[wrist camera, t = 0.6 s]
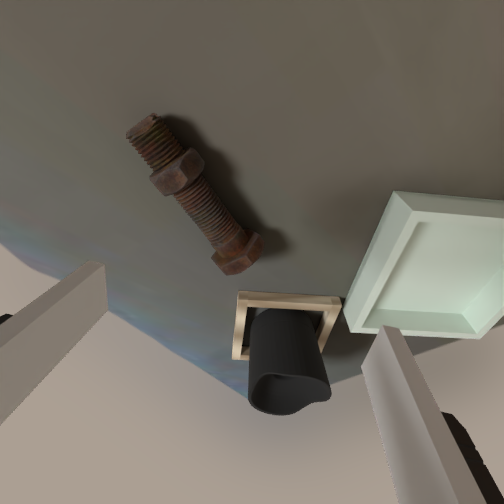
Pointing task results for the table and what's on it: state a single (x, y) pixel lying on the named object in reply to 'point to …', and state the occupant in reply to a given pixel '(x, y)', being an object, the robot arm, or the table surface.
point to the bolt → (195, 194)
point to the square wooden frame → (284, 301)
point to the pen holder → (285, 363)
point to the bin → (432, 268)
